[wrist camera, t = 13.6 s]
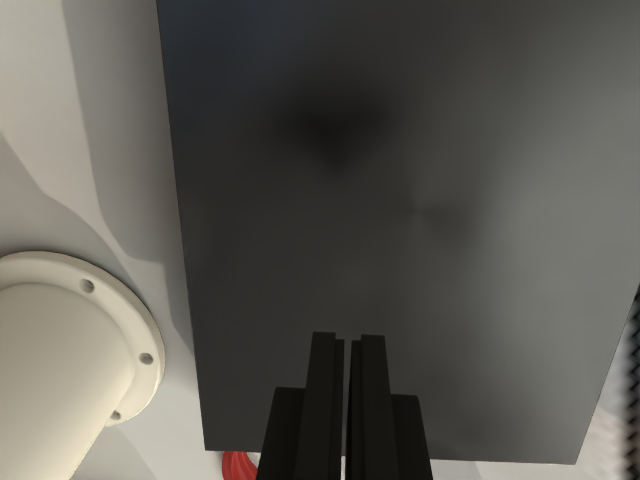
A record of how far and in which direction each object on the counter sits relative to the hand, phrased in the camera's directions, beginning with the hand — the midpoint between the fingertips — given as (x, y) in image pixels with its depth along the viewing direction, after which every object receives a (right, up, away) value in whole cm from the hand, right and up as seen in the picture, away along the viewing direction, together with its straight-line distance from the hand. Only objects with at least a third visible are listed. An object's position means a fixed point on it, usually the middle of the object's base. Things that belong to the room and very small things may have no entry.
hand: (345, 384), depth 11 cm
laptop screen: (+4, +5, +10) cm, 12 cm away
